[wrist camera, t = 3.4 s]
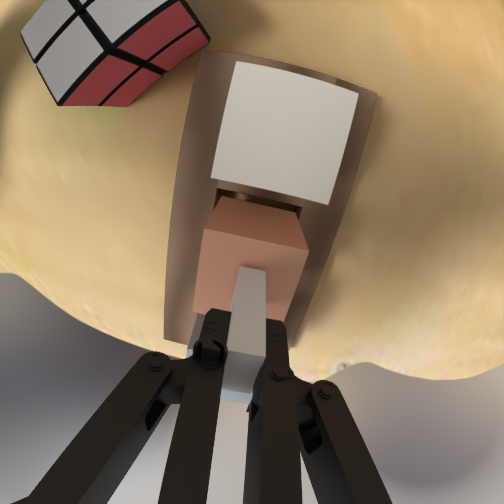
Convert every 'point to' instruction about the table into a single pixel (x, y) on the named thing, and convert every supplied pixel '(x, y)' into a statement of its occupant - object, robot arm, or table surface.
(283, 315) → the terracotta block
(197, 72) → the button board
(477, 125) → the table surface
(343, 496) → the robot arm
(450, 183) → the table surface
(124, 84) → the puzzle cube
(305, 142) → the cream block
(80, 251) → the table surface
